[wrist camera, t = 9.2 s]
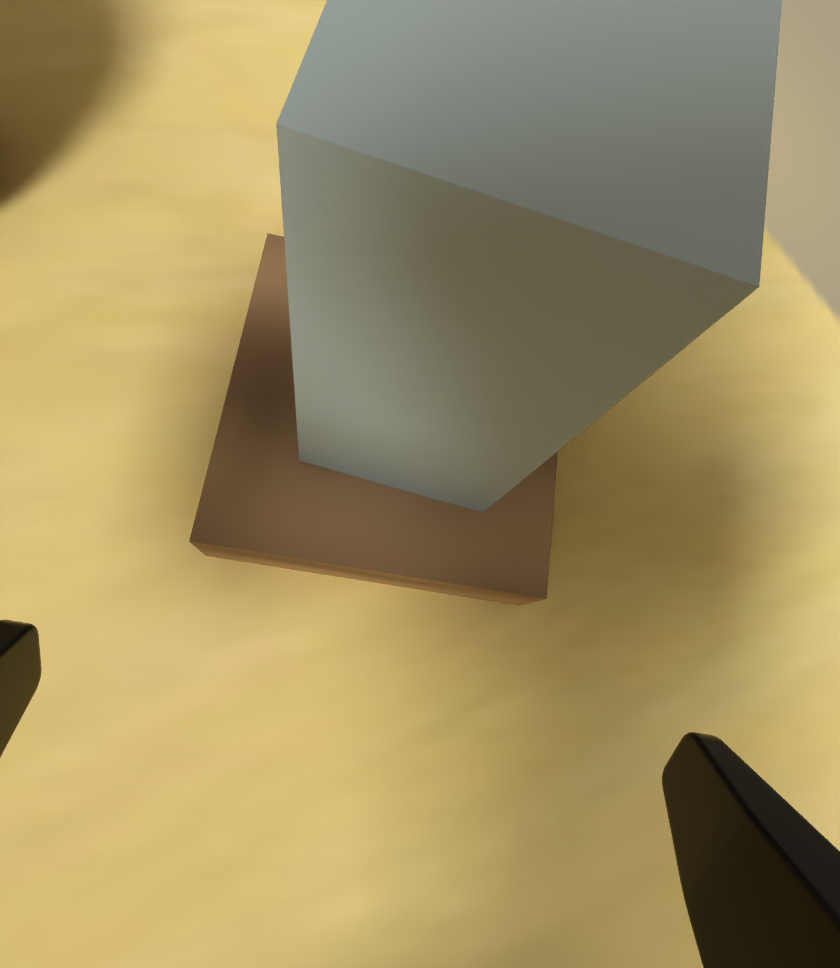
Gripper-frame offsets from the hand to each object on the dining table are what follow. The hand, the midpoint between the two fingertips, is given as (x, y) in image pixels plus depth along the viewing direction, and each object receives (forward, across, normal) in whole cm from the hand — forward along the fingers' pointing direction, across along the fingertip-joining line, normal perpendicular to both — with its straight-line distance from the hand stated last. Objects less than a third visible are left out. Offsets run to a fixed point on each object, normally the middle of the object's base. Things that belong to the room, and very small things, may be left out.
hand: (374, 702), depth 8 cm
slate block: (+11, 0, 0) cm, 11 cm away
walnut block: (+13, 0, +2) cm, 14 cm away
